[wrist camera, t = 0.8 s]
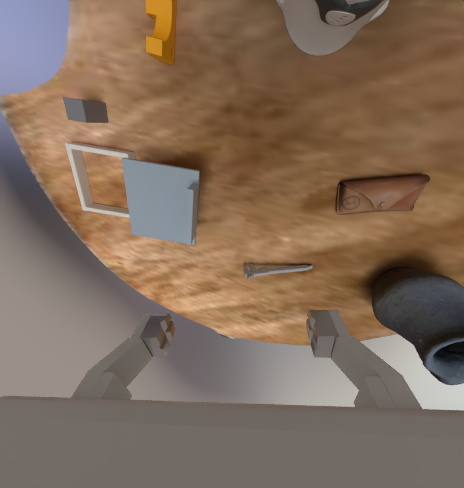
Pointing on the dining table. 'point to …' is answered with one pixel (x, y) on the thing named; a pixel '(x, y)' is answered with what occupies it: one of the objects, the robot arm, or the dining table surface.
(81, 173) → the frame
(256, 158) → the dining table surface
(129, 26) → the dining table surface
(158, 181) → the lid
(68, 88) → the dining table surface
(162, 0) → the pipe clamp
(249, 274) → the caliper
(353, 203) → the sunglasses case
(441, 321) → the pitcher
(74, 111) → the dark grey block
